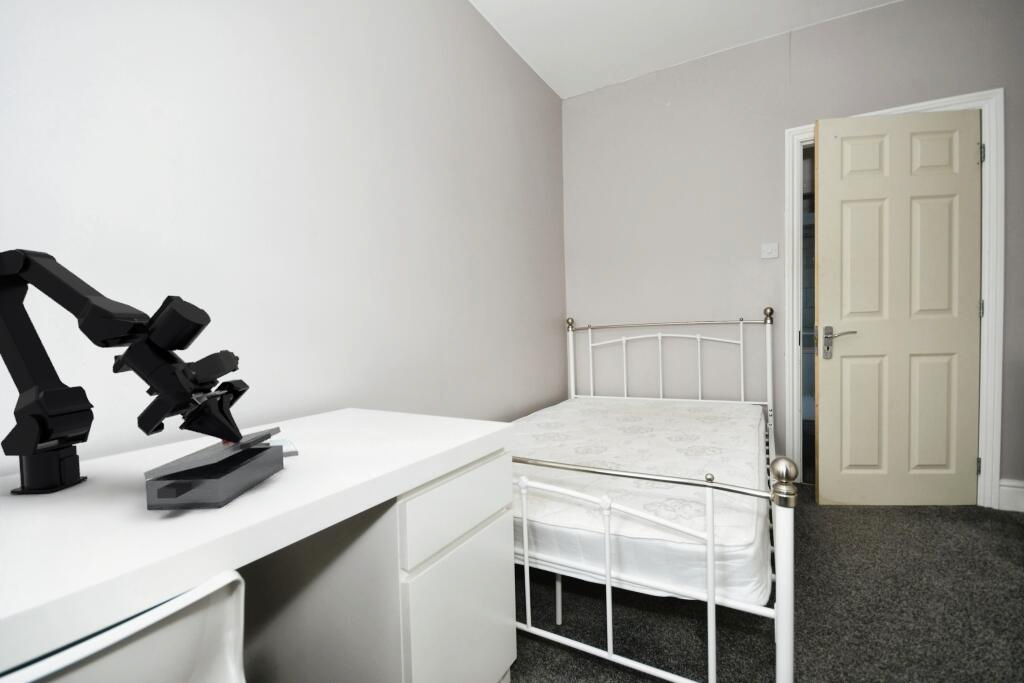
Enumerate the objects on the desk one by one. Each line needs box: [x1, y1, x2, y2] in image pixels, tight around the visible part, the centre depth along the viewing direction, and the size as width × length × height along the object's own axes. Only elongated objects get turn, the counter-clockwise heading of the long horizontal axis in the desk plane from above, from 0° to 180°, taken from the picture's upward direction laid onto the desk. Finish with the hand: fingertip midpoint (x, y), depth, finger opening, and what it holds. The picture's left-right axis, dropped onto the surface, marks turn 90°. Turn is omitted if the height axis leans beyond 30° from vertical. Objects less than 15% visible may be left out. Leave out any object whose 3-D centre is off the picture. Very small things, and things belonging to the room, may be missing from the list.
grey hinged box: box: [145, 443, 284, 511], centre depth 73 cm, size 10×24×4 cm, turn 0°
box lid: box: [143, 426, 281, 480], centre depth 73 cm, size 12×18×2 cm, turn 0°
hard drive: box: [261, 437, 299, 458], centre depth 93 cm, size 2×8×12 cm
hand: (239, 440), depth 73 cm, fingers closed, pressing on box lid
